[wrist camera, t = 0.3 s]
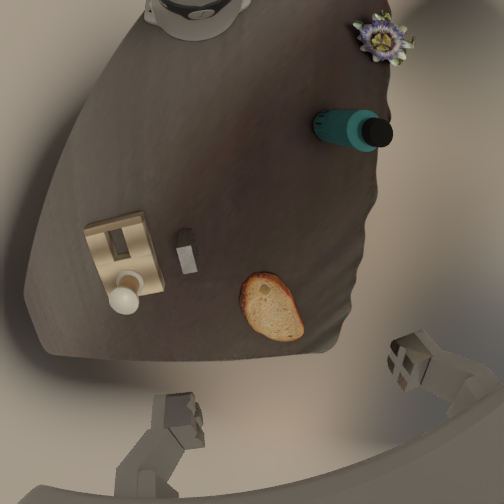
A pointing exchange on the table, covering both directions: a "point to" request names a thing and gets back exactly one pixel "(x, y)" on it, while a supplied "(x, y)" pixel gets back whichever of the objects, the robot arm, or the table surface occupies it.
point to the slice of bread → (270, 307)
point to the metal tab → (187, 251)
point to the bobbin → (126, 292)
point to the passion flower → (384, 39)
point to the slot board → (137, 258)
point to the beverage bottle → (353, 129)
